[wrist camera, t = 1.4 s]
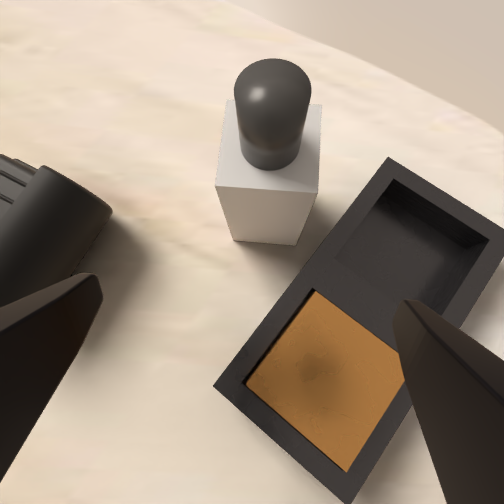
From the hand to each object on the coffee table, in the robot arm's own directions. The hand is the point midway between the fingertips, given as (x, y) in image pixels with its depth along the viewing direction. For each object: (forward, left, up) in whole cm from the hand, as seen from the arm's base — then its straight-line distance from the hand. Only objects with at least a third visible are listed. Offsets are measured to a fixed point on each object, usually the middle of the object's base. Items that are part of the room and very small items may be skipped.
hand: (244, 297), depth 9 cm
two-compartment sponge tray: (-6, -5, -14) cm, 16 cm away
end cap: (+15, +6, -14) cm, 22 cm away
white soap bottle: (+4, -7, -14) cm, 16 cm away
